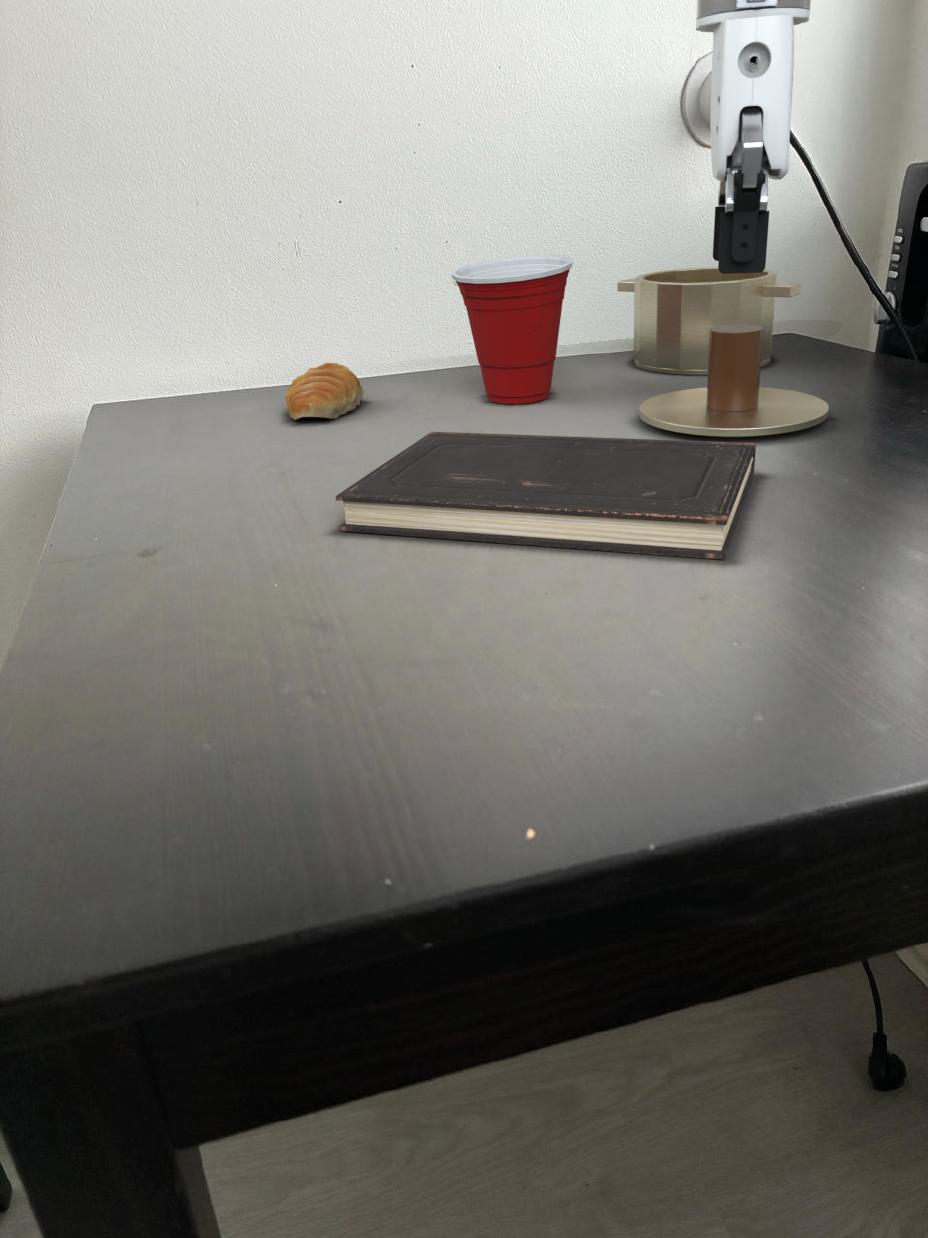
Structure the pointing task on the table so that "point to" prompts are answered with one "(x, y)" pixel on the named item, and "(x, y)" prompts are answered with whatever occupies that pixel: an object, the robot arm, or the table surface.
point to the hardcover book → (559, 492)
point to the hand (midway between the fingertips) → (737, 265)
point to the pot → (698, 314)
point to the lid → (734, 395)
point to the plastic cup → (515, 322)
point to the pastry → (324, 392)
